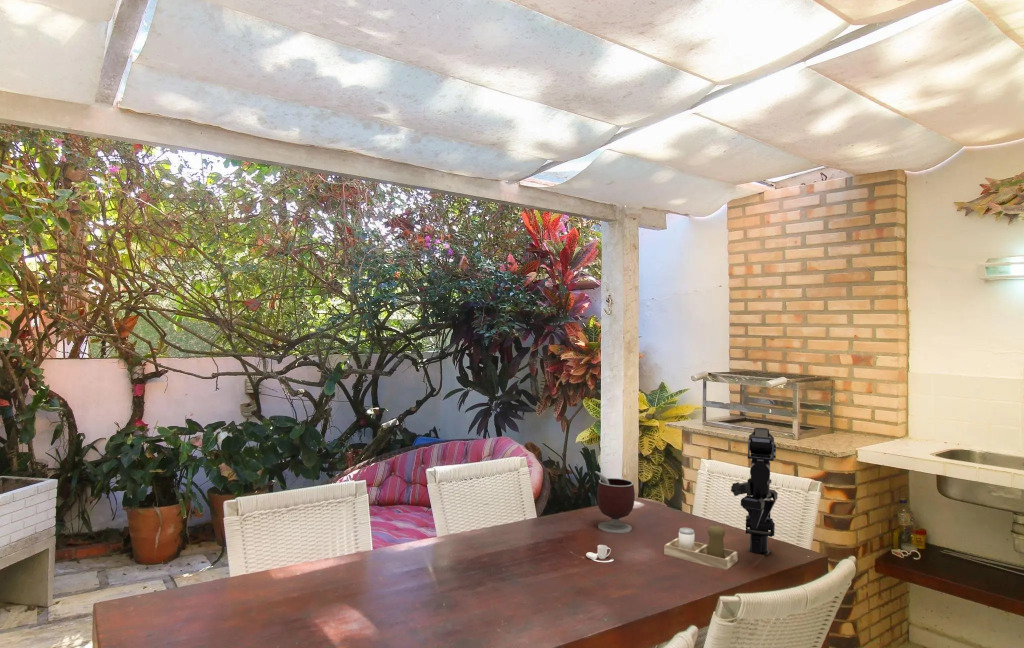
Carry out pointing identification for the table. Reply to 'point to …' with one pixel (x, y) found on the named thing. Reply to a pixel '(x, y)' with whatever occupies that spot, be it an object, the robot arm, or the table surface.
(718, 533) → the olive tapered block
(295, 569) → the table surface
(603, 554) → the teacup and saucer
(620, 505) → the mate gourd
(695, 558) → the caddy
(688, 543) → the salt shaker
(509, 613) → the table surface
